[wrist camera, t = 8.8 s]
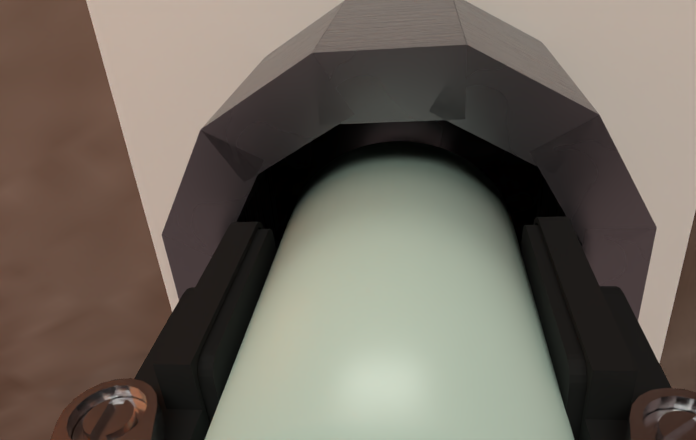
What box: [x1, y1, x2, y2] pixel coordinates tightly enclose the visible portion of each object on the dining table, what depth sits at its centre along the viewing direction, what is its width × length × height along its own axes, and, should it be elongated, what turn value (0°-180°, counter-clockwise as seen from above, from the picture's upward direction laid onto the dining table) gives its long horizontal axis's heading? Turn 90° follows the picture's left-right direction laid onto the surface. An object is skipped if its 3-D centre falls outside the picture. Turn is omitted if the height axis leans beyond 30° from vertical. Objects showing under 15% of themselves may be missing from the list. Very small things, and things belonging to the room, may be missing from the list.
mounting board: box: [86, 0, 696, 363], centre depth 16 cm, size 15×15×1 cm
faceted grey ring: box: [162, 0, 657, 320], centre depth 14 cm, size 9×9×5 cm
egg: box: [205, 141, 574, 440], centre depth 10 cm, size 5×5×7 cm
